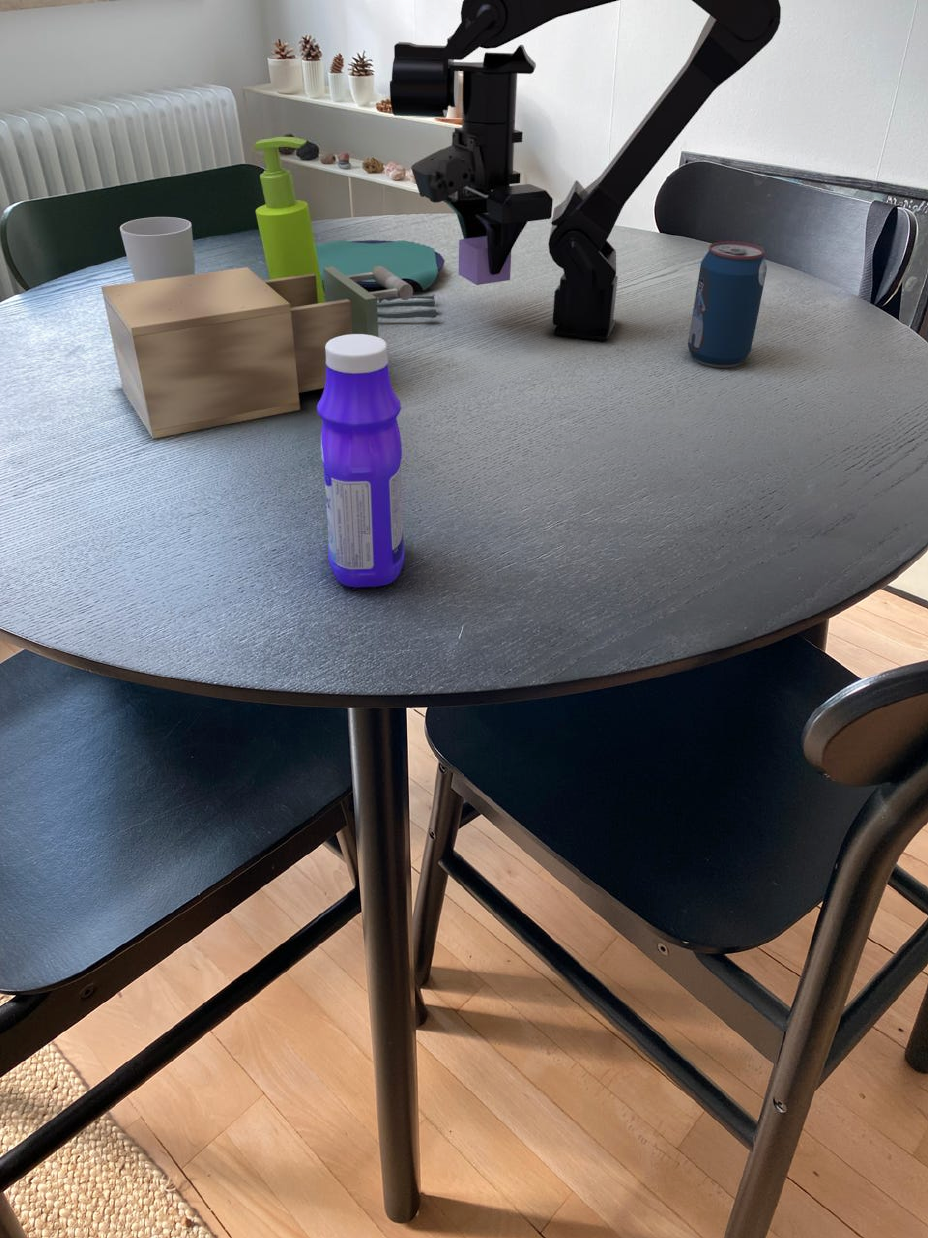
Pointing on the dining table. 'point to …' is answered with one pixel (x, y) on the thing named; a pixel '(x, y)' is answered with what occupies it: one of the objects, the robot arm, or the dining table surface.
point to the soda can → (727, 303)
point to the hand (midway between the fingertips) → (484, 268)
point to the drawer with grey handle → (331, 314)
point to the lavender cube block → (479, 262)
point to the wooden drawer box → (203, 350)
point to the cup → (159, 247)
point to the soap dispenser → (285, 219)
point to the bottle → (361, 462)
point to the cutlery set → (386, 267)
